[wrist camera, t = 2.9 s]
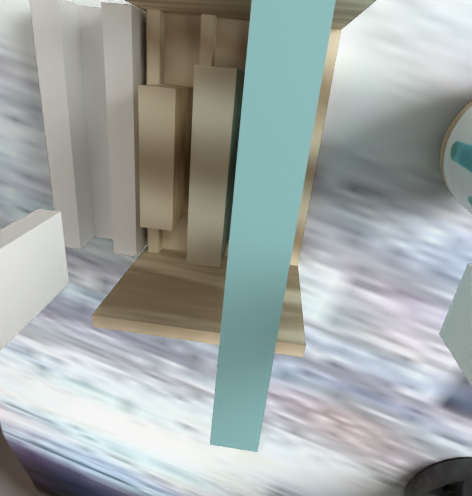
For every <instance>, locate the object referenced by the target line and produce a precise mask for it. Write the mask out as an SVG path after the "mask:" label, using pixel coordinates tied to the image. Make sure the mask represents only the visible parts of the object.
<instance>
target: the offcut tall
mask: <svg viewBox="0 0 472 496" xmlns="http://www.w3.org/2000/svg"><path fill="white" fill-rule="evenodd" d="M244 77H245V71H243V70H240V69H235V68H225V67H215V66H205V65H195V64H194V87H193V111H192V134H191V158H190V182H189V206H188V229H187V253H186V263H191V264H199V265H206V266H214V267H220V266H221V263H222V260H223V256H224V253H225V250H226V247H227V244H228V241H229V237H230V226H231V216H232V205H233V194H234V184H235V173H236V162H237V152H238V141H239V130H240V120H241V109H242V98H243V88H244Z"/></svg>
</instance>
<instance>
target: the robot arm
mask: <svg viewBox="0 0 472 496" xmlns="http://www.w3.org/2000/svg"><path fill="white" fill-rule="evenodd" d="M68 284H69V278H68V270H67V261H66V252H65V244H64V235H63V226H62V217H61V211H53V210H45V209H37V210H35V211H33V212H32V213H30V214H28V215H26V216H24V217H22V218H21V219H19V220H17V221H15V222H13V223H11V224H10V225H8V226H6V227H4V228H2V229H1V230H0V351H1V350H2V349H3V348H4V347H5V346H6V345H7V344H8V343H9V342H10V341H11V340H12V339H13V338H14V337H15V336H16V335H17V334H18V333H19V332H20V331H21V330H22V329H23V328H24V327H25V326H26V325H27V324H28V323H29V322H30V321H31V320H32V319H33V318H34V317H35V316H36V315H37V314H38V313H39V312H40V311H41V310H42V309H43V308H44V307H45V306H47V305H48V304H49V303H50V302H51V301H52V300H53V299H54V298H55V297H56V296H57V295H58V294H59V293H60V292H61V291H62V290H63V289H64V288H65V287H66V286H67V285H68ZM439 335H440V336H441V338H442V339H443V341H444V343H445V344H446V346H447V347H448V349H449V351H450V352H451V354H452V355H453V357H454V359H455V360H456V362H457V363H458V365H459V367H460V368H461V370H462V371H463V373H464V375H465V376H466V378H467V379H468V381H469V383H470V384H471V386H472V263H468V264H467V267H466V269H465V272H464V274H463V277H462V279H461V282H460V284H459V286H458V289H457V291H456V294H455V296H454V299H453V301H452V304H451V306H450V309H449V311H448V314H447V316H446V319H445V321H444V323H443V326H442V328H441V331H440V333H439ZM404 496H472V458H463V459H455V460H449V461H445V462H441V463H438V464H436V465H433V466H431V467H429V468H427V469H425V470H423V471H422V472H420V473H419V474H418V475H416V476H415V477H414V478H413V479H412V480H411V481H410V483H409V484H408V486H407V488H406V490H405V494H404Z"/></svg>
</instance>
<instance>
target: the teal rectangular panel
mask: <svg viewBox="0 0 472 496" xmlns="http://www.w3.org/2000/svg"><path fill="white" fill-rule="evenodd" d="M335 1H336V0H252V3H251V13H250V24H249V35H248V45H247V56H246V66H245V77H244V88H243V98H242V109H241V120H240V130H239V141H238V152H237V162H236V173H235V184H234V194H233V205H232V216H231V226H230V237H229V247H228V258H227V269H226V279H225V290H224V301H223V311H222V322H221V333H220V343H219V354H218V365H217V375H216V386H215V397H214V407H213V418H212V428H211V439H210V444H211V445H217V446H223V447H229V448H235V449H242V450H248V451H254V452H257V451H258V445H259V439H260V433H261V428H262V422H263V416H264V410H265V405H266V399H267V393H268V387H269V381H270V376H271V370H272V364H273V358H274V353H275V347H276V341H277V335H278V330H279V324H280V318H281V312H282V307H283V301H284V295H285V289H286V284H287V278H288V272H289V266H290V261H291V255H292V249H293V243H294V238H295V232H296V226H297V220H298V215H299V209H300V203H301V197H302V191H303V186H304V180H305V174H306V168H307V163H308V157H309V151H310V145H311V140H312V134H313V128H314V122H315V117H316V111H317V105H318V99H319V94H320V88H321V82H322V76H323V71H324V65H325V59H326V53H327V48H328V42H329V36H330V30H331V25H332V19H333V13H334V7H335Z"/></svg>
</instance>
